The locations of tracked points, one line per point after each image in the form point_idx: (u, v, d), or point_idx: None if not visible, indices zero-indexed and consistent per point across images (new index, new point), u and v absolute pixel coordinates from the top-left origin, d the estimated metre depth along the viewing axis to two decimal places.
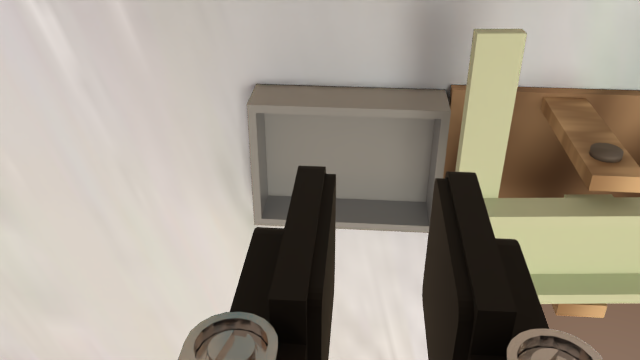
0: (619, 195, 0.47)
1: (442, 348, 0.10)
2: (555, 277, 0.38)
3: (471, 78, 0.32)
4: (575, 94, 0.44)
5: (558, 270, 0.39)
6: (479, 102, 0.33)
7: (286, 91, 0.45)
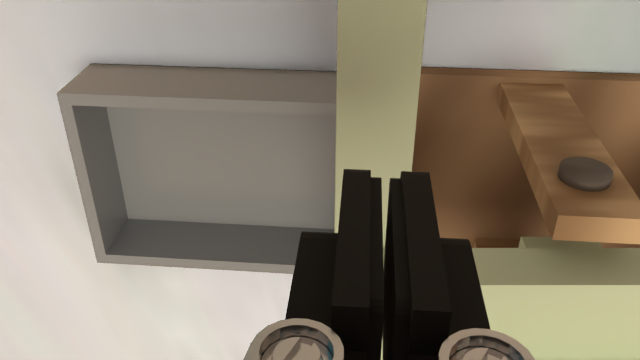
0: None
1: (388, 348, 0.10)
2: None
3: (338, 46, 0.18)
4: (547, 79, 0.29)
5: None
6: (356, 89, 0.19)
7: (127, 74, 0.31)
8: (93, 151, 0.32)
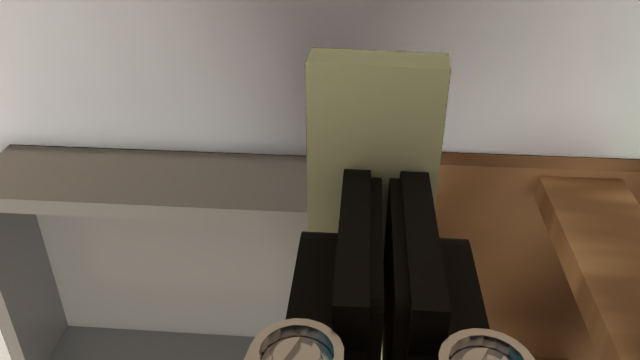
0: None
1: (388, 348, 0.09)
2: None
3: (309, 179, 0.12)
4: (602, 172, 0.22)
5: None
6: None
7: (52, 162, 0.24)
8: (10, 260, 0.24)
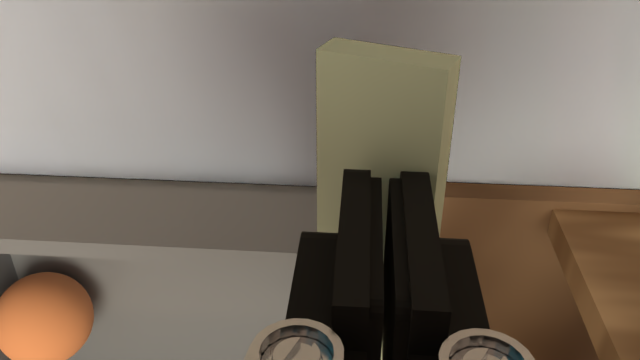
0: None
1: (388, 348, 0.10)
2: None
3: (319, 162, 0.12)
4: (621, 205, 0.20)
5: None
6: None
7: (23, 193, 0.22)
8: None
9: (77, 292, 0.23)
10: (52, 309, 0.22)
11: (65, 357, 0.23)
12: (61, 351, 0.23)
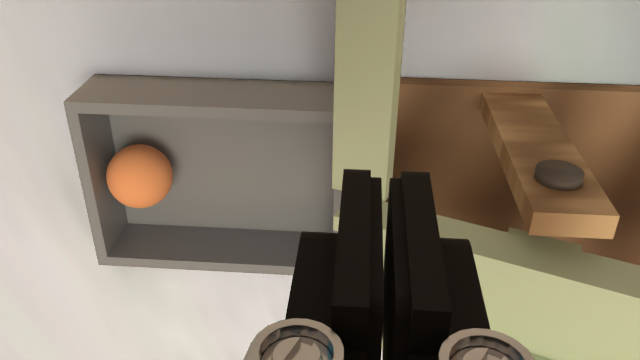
0: None
1: (388, 348, 0.10)
2: None
3: (337, 22, 0.23)
4: (526, 89, 0.31)
5: None
6: (348, 58, 0.24)
7: (130, 84, 0.33)
8: (96, 157, 0.33)
9: (163, 156, 0.34)
10: (150, 162, 0.33)
11: (157, 199, 0.34)
12: (156, 193, 0.33)
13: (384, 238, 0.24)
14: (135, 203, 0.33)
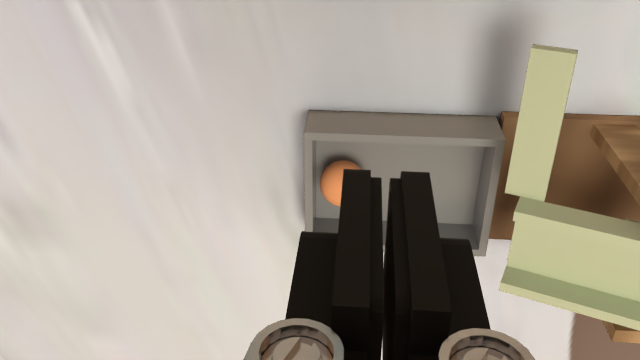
0: None
1: (388, 348, 0.10)
2: (596, 293, 0.40)
3: (524, 87, 0.36)
4: (625, 121, 0.44)
5: (602, 288, 0.40)
6: (530, 109, 0.37)
7: (340, 118, 0.46)
8: (313, 170, 0.46)
9: (359, 168, 0.47)
10: None
11: None
12: None
13: (550, 225, 0.37)
14: None
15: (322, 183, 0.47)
